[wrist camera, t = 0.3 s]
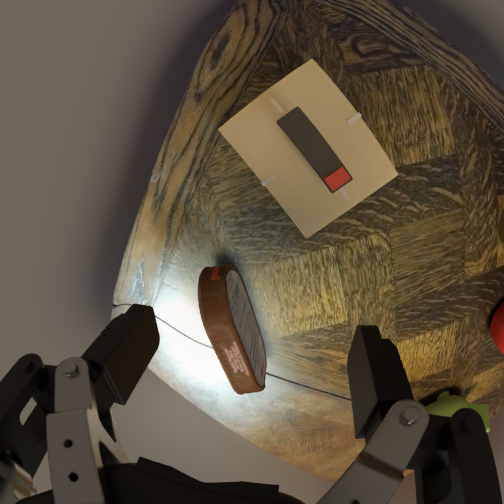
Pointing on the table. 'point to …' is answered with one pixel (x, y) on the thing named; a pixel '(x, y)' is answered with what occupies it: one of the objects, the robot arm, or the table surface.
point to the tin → (232, 327)
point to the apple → (498, 328)
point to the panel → (292, 160)
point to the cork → (501, 228)
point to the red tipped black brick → (315, 149)
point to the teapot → (456, 407)
